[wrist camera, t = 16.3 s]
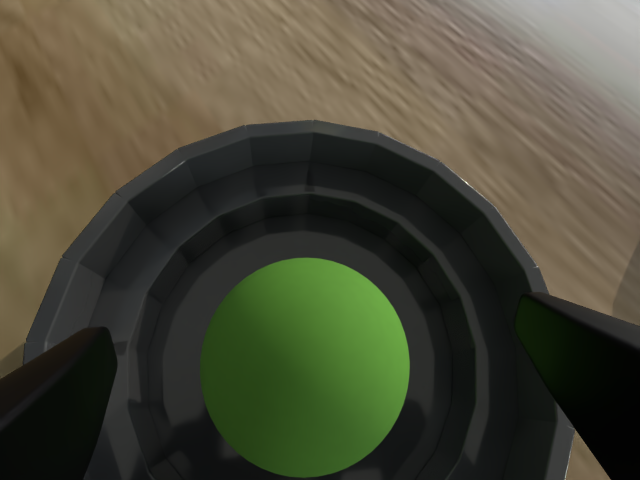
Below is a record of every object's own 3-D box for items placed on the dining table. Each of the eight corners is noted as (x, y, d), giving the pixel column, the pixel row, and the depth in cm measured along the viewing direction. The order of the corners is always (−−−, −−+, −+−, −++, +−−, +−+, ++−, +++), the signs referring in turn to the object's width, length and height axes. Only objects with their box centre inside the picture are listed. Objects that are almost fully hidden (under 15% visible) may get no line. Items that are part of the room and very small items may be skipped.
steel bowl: (553, 541, 14) (668, 606, 10) (85, 669, 12) (-23, 826, 7) (435, 166, 20) (478, 106, 15) (100, 199, 17) (42, 139, 13)
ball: (350, 469, 14) (383, 577, 8) (196, 398, 15) (114, 449, 8) (408, 310, 16) (474, 296, 9) (266, 249, 16) (241, 198, 10)
